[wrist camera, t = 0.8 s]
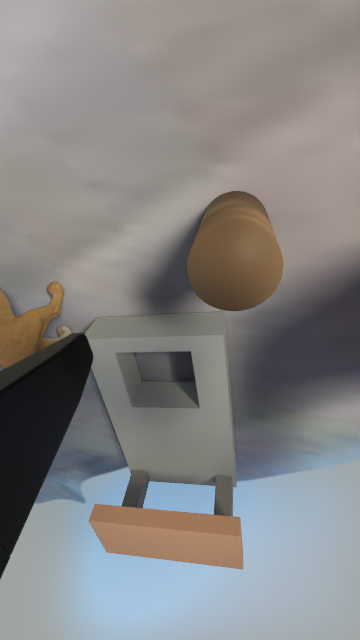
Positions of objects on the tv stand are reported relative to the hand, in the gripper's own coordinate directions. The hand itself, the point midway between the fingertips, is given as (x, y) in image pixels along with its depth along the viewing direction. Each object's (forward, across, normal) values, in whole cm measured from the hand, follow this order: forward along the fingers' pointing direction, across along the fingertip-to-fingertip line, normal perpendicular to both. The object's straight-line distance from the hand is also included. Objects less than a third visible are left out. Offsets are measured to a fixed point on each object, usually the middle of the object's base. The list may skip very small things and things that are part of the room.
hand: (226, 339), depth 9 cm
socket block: (+12, +6, +15) cm, 20 cm away
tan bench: (+12, +6, +20) cm, 24 cm away
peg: (+12, 0, 0) cm, 12 cm away
